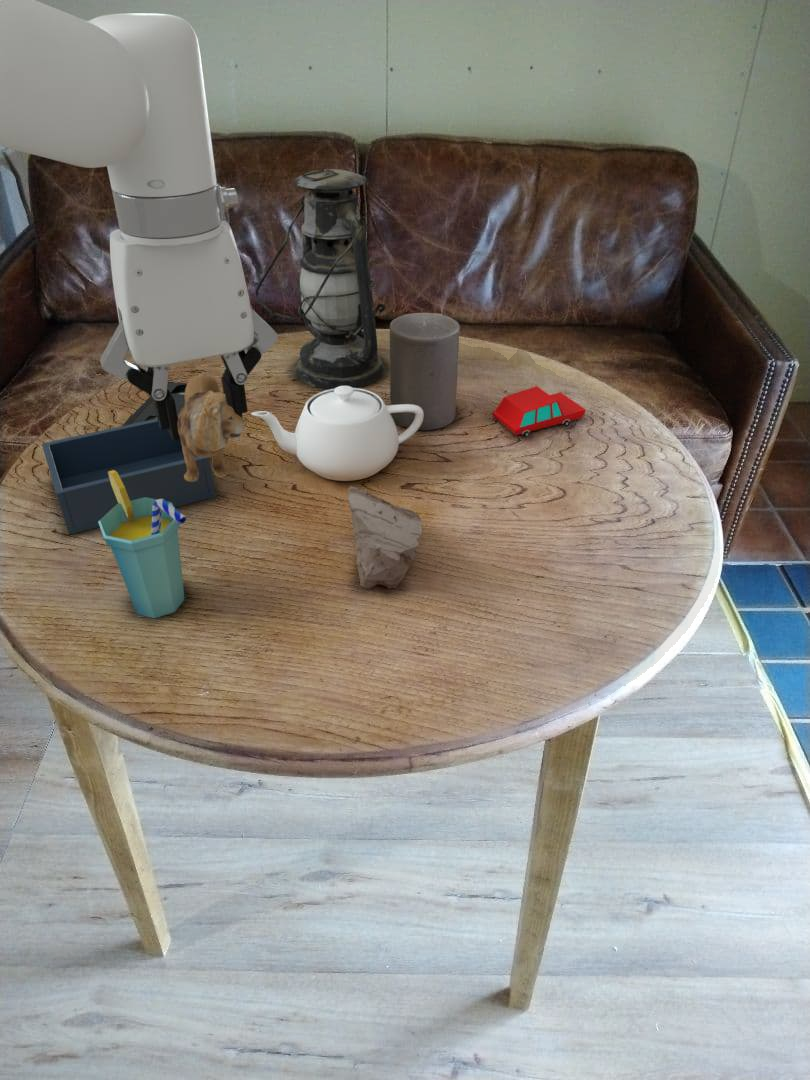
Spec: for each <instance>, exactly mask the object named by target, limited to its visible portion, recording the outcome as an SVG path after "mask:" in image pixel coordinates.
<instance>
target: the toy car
mask: <svg viewBox="0 0 810 1080" xmlns="http://www.w3.org/2000/svg"><path fill="white" fill-rule="evenodd" d="M586 411H587V410H586V408H584V407H583V406H581V405H580V404H579V403H577V402H576V401H574V400H572V399H571V398H570V397H568V396H567V395H566V394H564V393H562V392H556V393H552V394H549V393H548V392H546V391H544V390H543V389H542V388H541V387H540V386H538V385H534V386H532V387H529V388H527V389H524V390H520V391H517V392H514V393H512V394H509V395H506V396H503V398H502V399H501V400H500V403H498V405H497V407H496V408H495V409H494V410H492V411H491V415H492V417H493V418H494V419H495V420H496V421H498V422H499V423H500V424H501V425H503V426H504V427H505V428H507V429H508V431H510V432H511V433H513V434H514V435H515V436H519V435H523V436H524V437H528V436H529V434H530V433H531V432H533V431H537V430H541V429H544V428H545V429H546V428H549V427H552V426H556V425H560V424H562V425H564V426H565V427H567V426H569V424H570V422H572V421H575V420H580V419H582V418H584V416H585V415H586Z"/></svg>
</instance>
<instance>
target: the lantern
mask: <svg viewBox="0 0 810 1080" xmlns="http://www.w3.org/2000/svg"><path fill="white" fill-rule="evenodd" d="M367 180H368V179H367V177H366V176H363V175H361V174H359V173H356V172H353V171H349V170H345V169H334V168H333V169H330V168H329V169H328V168H326V169H318V170H312V171H309V172H304V173H302V174H301V175H299V176H297V177H295V178H294V179H293V180H292V181H293V184H294V185H295V186H297V187H299V188H302V189H305V190H307V191H308V192H307V193H306V195H305V196H300V199H299V203H300V207H299V209H298V211H297V212H296V214H295V216H294V217H293V219H292V221H291V223H290V224H289V227H288V229H287V232H286V236H285V239H284V242H283V243H282V245H281V246H280V248H279V250H278V251H277V253H276V255H275V256H274V258H273V260H272V261H271V263H270V264H269V266H268V268H267V270H265V273H264V274H263V276H262V277H261V279H260V281H259V282H258V284H257V287H256V289H255V298H256V300H257V303H258V304H259V305H261V307H263V308H264V309H265V310H266V311H268V312H269V316H270V317H272V318H273V317H275V316H277V317H279V318H283V319H286V320H289V321H299V320H301V319H303V321H304V324H305V327H306V329H307V330H308V332H309V333H310V335H312V336H313V339H312V340H309V341H308V342H307V343H305V344H303V345H302V347H301V348H300V351H299V357H300V358H299V359H298V361H297V364H296V367H295V370H294V372H295V376H296V378H297V379H298V380H299V381H300V382H301V383H303V384H305V385H307V386H310V387H312V388H316V389H323V390H330V389H335V388H336V387H339V386H350V387H352V388H359V389H360V388H362V387H366V386H368V385H372V384H373V383H375V382H377V381H378V380H379V379H380V378H382V377H383V375H384V373H385V370H386V369H385V365H384V363H383V361H382V358H381V356H380V355H379V348H378V338H377V326H376V317H375V316H376V314H378V312H379V314H381V313H383V312H384V311H385V310H386V305H385V304H383V303H378V304H377V305H376V307H374V298H373V297H374V296H373V287H375V284H376V282H375V281H374V280H372V278H371V269H370V259H369V250H368V249H369V248H368V240H367V236H366V234H367V231H368V226H367V224H366V221H367V220H366V217H365V216H361V213H360V203H359V196H358V195H357V193H356V192H355V191H354V189H357V188H360V187H361V186H363V185H365V184H366V183H367ZM301 212H302V213H303V214H302V218H301V224H302V225H301V229H300V232H301V236H302V237H301V239H302V240H301V242H302V243H301V247H302V248H301V249H302V250H301V252H302V253H301V254H302V257H301V258H300V260H299V266H300V267H301V269H300V275H299V279H297V281H296V282H295V287H296V291H297V292H298V293H299V294H300V299H301V302H300V306H298V316H295V317H291V316H288V315H285V314H282V313H278V312H275V313H273V310H272V309H270V308H269V307H268V306H267V305H265V304H264V303H263V302H262V300H261V299H260V296H259V291H260V288H261V286H262V284H263V282H264V281H265V279H266V277H267V276H268V275H269V273H270V272H271V269H272V268H273V266H274V264H275V263H276V262H277V260H278V258H279V257H280V255H281V254H282V252H283V250H284V248H285V247H286V245H287V243H288V241H289V237H290V234H291V230H292V228H293V226H294V224H295V222H296V220H297V219H298V217H299V215H300V214H301ZM299 288H300V289H299Z"/></svg>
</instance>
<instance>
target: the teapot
mask: <svg viewBox="0 0 810 1080" xmlns="http://www.w3.org/2000/svg"><path fill="white" fill-rule="evenodd" d="M385 403H386V402H385V401H384V399H382V397H381V396H379V395H378V394H376V393H374V392H373V391H370V390H367V389H363V388H360V387H359V388H352V387H350V386H339V387H336V388H335V389H330V390H329V389H324V390H322V391H320V392H318V393H316V394H314V395H312V396H311V397H309V399H307V401H306V402H305V403H304V406H303V409H302V411H301V414H300V416H299V418H298V421H297V423H296V425H295V426H296V427H295V430H294V432H291V431H288V430H286V429H284V427H282V425H281V423H280V422H279V420H278V418H277V417H276V416H275V414H273V413H272V412H270V411H265V410H259V411H253V412H251V415H252V416H254V417H256V418H259V419H261V420H262V421H264V422H265V423H266V424H267V426H268V427H269V429H270V431H271V433H272V435H273V437H274V439H275V441H276V443H277V445H278V446H279V447H280V448H281V450H283V451H284V452H287V453H289V454H291V455H296V457H297V459H298V460H299V462H300V463H301V464H302V465H303V466H304V467H305V468H307V469H309V471H311V472H313V473H315V474H316V475H318V476H320V477H321V478H324V479H327V480H333V481H337V482H338V481H341V482H351V481H359V480H362V479H363V480H364V479H367V478H369V477H371V476H373V475H375V474H377V473H379V472H380V471H381V470H383V469H384V468H385V467H387V466H388V465H389V464H390V463H391V462H392V461H393V460H394V458H395V456H396V455H397V453H398V451H399V445H400V444H402V443H404V442H405V441H407V440H408V439H410V438H411V437H412V436H413V435H414V434H415V433H416V432H418V431H419V430H418V429H419V427H420V426H421V424H422V421H423V417H424V414H423V410H422V409H421V407H419V406H417V405H412V404H400V405H391V404H388V405H387V404H385ZM398 412H413V413H415V419H414V421H413V423H412V424H411V425H410V427H409V428H406V429H405V430H404V431H403V432H401V433H400V434H399V433H398V429H397V424H396V423H395V422H394V420H393V418H392V416H391V414H390V413H398Z"/></svg>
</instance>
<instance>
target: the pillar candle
mask: <svg viewBox="0 0 810 1080" xmlns="http://www.w3.org/2000/svg"><path fill="white" fill-rule="evenodd" d="M460 331H461V325H460V324H459V322H458V321H457V320H455V319H453V318H452V317H449V316H446V315H444V314H442V313H432V312H413V313H406V314H403V315H399V316H398V317H396V318H394V319H393V320H392V321H391V322H390V324H389V385H390V386H389V387H390V388H389V390H390V391H389V394H390V396H389V400H390V405H400V404H412V405H417V406H419V407H421V409H422V410H423V414H424V417H423V421H422V424H421V426H420V427H419V429H418V430H417V431H433V430H438V429H441V428H444V427H447V426H449V425H451V423H453V422H454V420H455V419H456V413H457V392H458V374H459V373H458V372H459V370H458V369H459V368H458V367H459V344H460ZM390 414H391V416H392V418H393V420H394V423H395V425H397V426H400V427H403V428H406V429H408V428H409V427H410V425H411V424H412V423H413V421H414V419H415V413H413V412H398V413H390Z"/></svg>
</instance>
